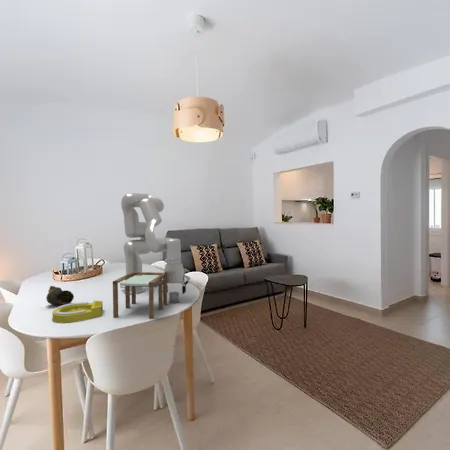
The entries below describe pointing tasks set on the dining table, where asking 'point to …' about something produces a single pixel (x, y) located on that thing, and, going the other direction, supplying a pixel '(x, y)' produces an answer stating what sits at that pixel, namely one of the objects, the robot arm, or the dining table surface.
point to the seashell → (59, 296)
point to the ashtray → (77, 312)
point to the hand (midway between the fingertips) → (174, 293)
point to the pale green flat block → (139, 281)
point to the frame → (161, 293)
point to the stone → (174, 297)
